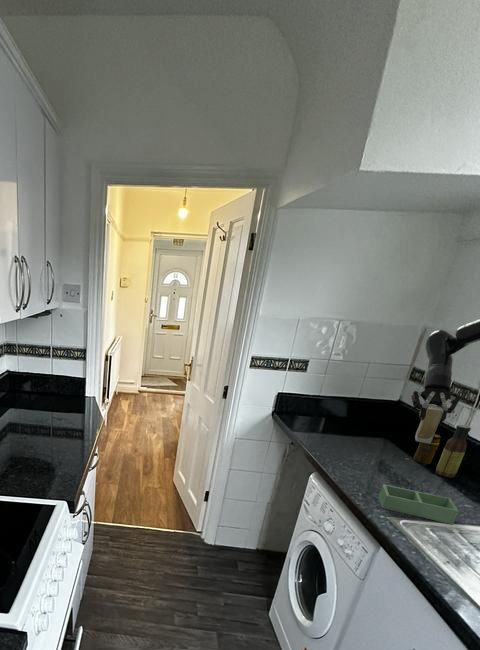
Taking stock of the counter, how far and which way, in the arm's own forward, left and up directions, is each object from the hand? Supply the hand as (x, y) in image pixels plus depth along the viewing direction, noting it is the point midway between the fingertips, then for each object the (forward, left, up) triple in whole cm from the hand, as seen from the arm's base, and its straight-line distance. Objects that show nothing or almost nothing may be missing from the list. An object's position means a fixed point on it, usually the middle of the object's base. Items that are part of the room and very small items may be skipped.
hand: (432, 419), depth 143 cm
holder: (+2, +26, -24) cm, 35 cm away
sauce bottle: (-14, -16, -24) cm, 32 cm away
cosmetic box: (0, -2, -8) cm, 9 cm away
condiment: (-8, -27, -24) cm, 37 cm away
